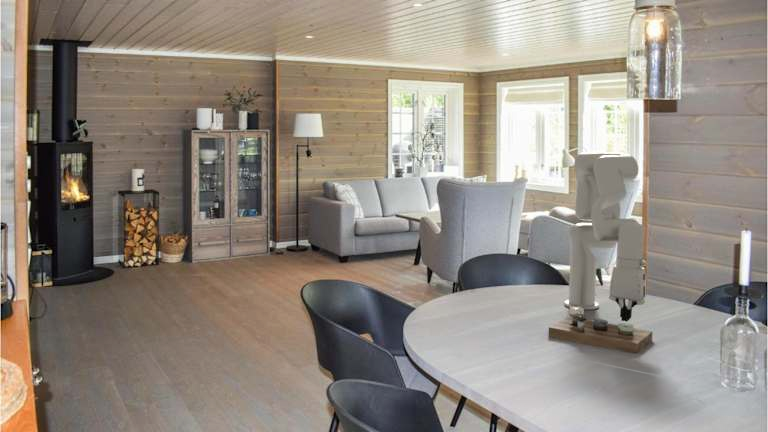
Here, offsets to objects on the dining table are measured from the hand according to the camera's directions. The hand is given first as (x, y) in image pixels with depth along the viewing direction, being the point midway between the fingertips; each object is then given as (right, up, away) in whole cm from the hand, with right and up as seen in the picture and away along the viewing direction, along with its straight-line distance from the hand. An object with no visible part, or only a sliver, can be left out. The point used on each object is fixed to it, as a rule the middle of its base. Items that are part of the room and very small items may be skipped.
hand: (625, 320), depth 219 cm
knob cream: (-13, -3, +9) cm, 16 cm away
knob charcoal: (-6, -6, +5) cm, 10 cm away
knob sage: (0, -7, 0) cm, 7 cm away
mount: (-6, -7, +5) cm, 10 cm away
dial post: (-14, -4, +2) cm, 14 cm away
